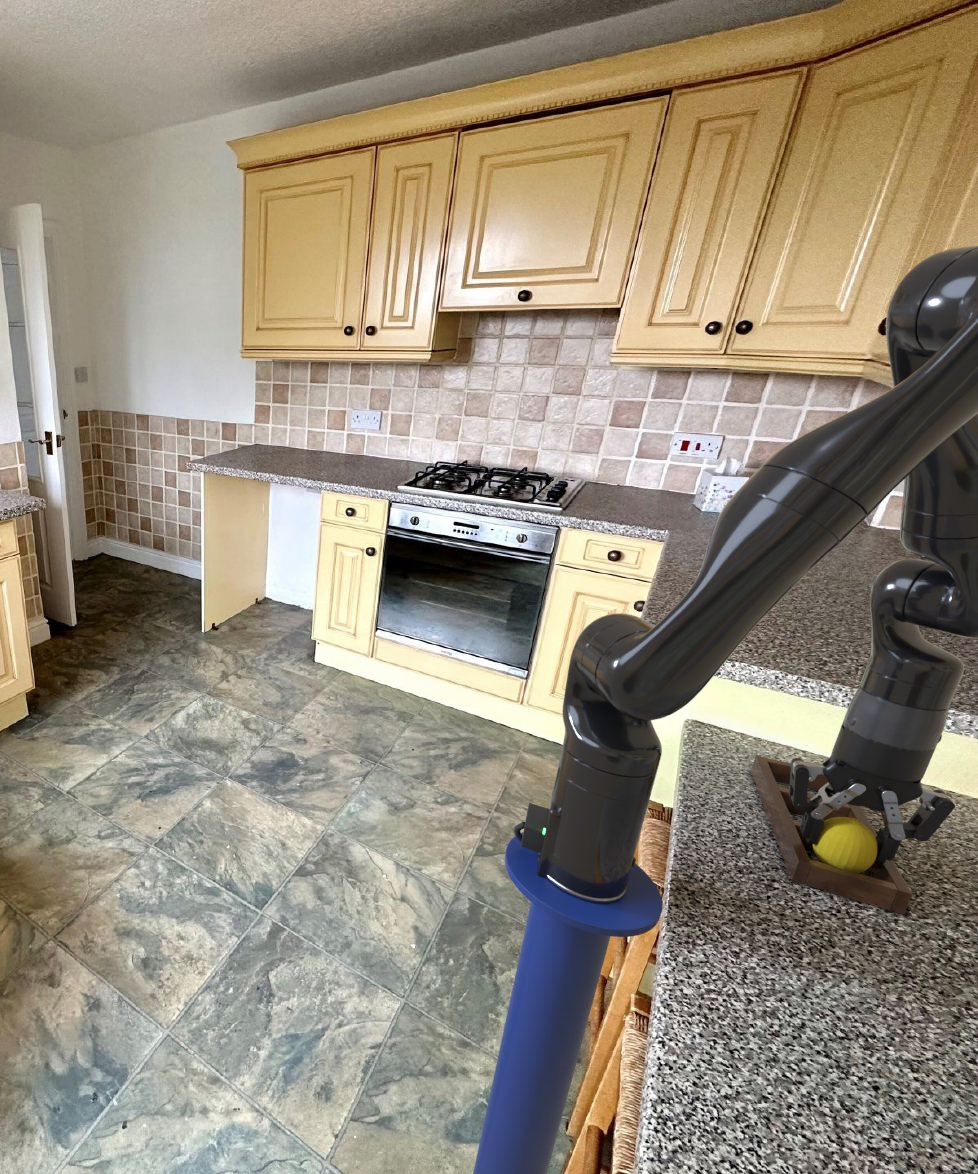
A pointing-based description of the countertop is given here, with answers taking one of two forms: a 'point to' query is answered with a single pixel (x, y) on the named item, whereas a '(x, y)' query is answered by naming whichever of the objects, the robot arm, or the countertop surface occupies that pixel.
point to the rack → (875, 890)
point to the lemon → (846, 844)
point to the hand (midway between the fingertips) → (842, 848)
